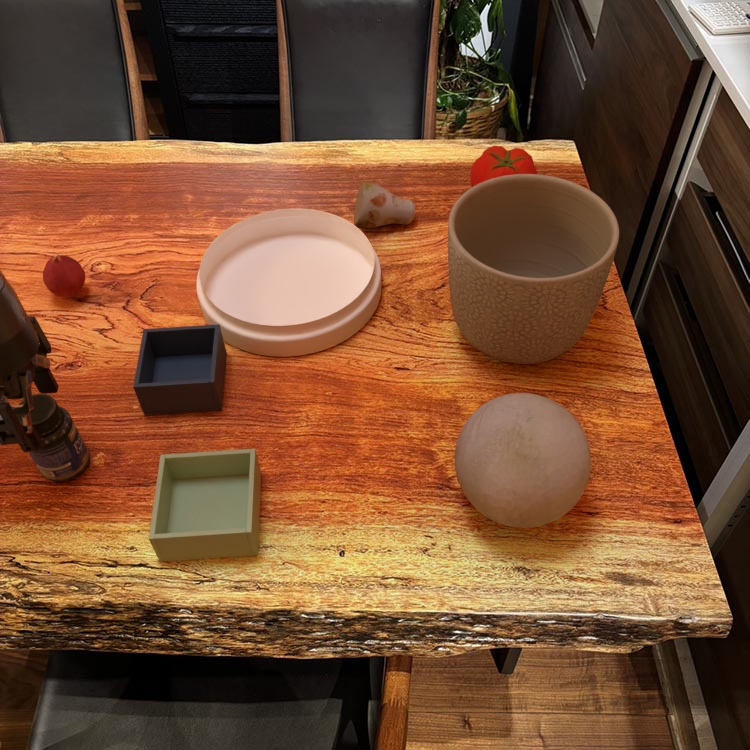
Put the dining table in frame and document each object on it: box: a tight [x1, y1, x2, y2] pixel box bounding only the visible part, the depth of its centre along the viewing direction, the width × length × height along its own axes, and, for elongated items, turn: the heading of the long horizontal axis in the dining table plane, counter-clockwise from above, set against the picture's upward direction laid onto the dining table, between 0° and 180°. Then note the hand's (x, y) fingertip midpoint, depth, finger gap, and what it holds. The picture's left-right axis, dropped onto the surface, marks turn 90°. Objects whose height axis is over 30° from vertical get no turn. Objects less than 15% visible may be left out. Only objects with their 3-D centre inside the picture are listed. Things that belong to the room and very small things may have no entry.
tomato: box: [470, 145, 539, 188], centre depth 131 cm, size 11×11×8 cm
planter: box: [447, 173, 620, 365], centre depth 106 cm, size 21×21×19 cm
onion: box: [42, 253, 87, 298], centre depth 118 cm, size 6×6×8 cm
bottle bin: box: [132, 324, 228, 416], centre depth 106 cm, size 10×10×6 cm
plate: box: [195, 207, 382, 358], centre depth 118 cm, size 27×27×6 cm
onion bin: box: [148, 448, 262, 563], centre depth 93 cm, size 11×11×5 cm
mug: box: [353, 181, 416, 229], centre depth 128 cm, size 8×10×10 cm
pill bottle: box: [16, 393, 91, 483], centre depth 96 cm, size 6×6×11 cm
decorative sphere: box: [454, 392, 592, 529], centre depth 90 cm, size 15×15×15 cm
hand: (42, 419), depth 94 cm, fingers open, 8 cm apart
